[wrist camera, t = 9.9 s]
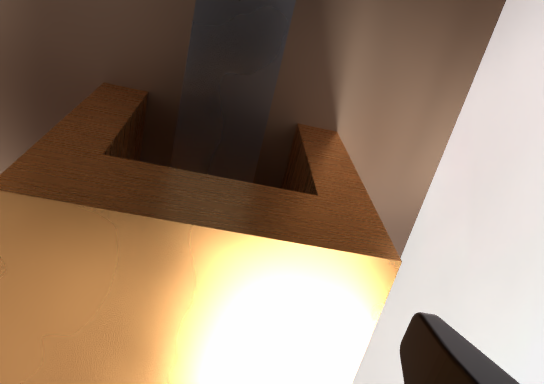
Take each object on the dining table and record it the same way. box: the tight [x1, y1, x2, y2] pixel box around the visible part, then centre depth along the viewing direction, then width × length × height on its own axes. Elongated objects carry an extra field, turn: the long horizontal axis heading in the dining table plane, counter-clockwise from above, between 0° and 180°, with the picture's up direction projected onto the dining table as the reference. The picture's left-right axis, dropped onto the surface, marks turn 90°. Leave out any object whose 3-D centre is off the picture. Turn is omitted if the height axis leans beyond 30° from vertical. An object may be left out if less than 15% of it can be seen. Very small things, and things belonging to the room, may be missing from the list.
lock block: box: [0, 83, 402, 384], centre depth 9 cm, size 6×5×5 cm
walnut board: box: [0, 0, 506, 257], centre depth 11 cm, size 33×15×1 cm, turn 167°
